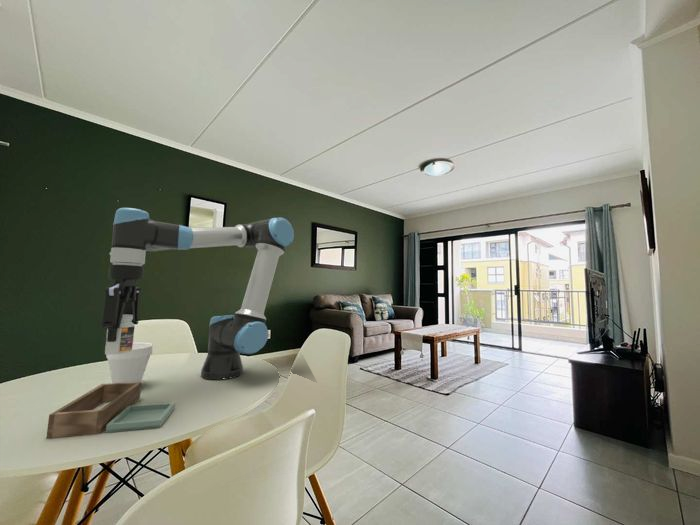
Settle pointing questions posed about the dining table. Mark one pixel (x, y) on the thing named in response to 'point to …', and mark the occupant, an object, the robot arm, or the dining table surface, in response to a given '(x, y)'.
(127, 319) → the pill bottle
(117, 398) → the caddy
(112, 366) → the white flower pot
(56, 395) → the dining table surface
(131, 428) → the tray
